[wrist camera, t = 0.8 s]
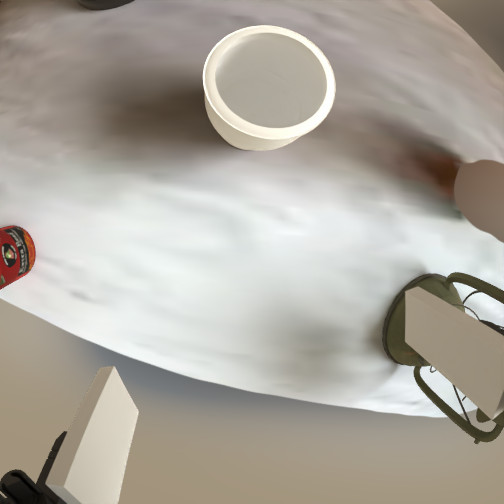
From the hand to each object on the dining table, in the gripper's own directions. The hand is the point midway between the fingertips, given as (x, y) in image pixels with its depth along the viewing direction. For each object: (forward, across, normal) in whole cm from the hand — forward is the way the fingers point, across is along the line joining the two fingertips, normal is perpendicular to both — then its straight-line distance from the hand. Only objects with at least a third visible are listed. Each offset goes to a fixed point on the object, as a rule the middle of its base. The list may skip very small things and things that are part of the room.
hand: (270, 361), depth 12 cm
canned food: (+27, -31, +7) cm, 42 cm away
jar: (+27, +6, +15) cm, 31 cm away
